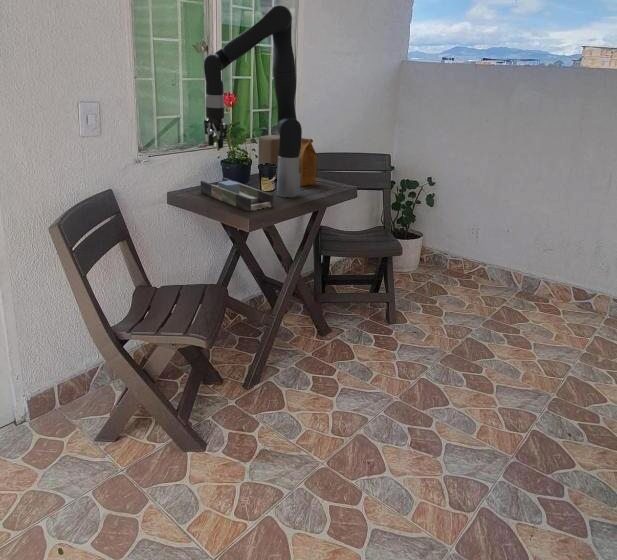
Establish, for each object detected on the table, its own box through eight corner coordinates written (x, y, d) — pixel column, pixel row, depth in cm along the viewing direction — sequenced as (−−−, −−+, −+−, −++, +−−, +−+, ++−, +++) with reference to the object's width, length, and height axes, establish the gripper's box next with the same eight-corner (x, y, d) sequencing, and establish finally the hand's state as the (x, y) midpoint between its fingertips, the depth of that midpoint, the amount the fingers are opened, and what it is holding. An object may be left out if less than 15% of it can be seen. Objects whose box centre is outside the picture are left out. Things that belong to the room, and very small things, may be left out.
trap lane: (224, 188, 251) (224, 177, 249) (273, 206, 227) (273, 194, 225) (200, 192, 243) (200, 181, 241) (248, 211, 219) (248, 199, 217)
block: (257, 177, 275) (257, 136, 267) (272, 174, 281) (273, 134, 273) (270, 181, 268) (271, 139, 260) (286, 178, 275) (287, 137, 267)
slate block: (230, 189, 242) (229, 180, 240) (239, 192, 237) (239, 183, 236) (218, 191, 238) (218, 182, 236) (227, 194, 233) (227, 185, 232)
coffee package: (304, 180, 274) (306, 134, 265) (317, 186, 264) (320, 138, 255) (286, 181, 269) (288, 135, 260) (299, 187, 259) (301, 139, 250)
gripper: (232, 107, 228) (232, 148, 235) (213, 103, 238) (213, 143, 244) (217, 108, 223) (217, 150, 230) (197, 104, 233) (199, 144, 239)
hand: (215, 146), depth 237 cm, fingers open, 6 cm apart
